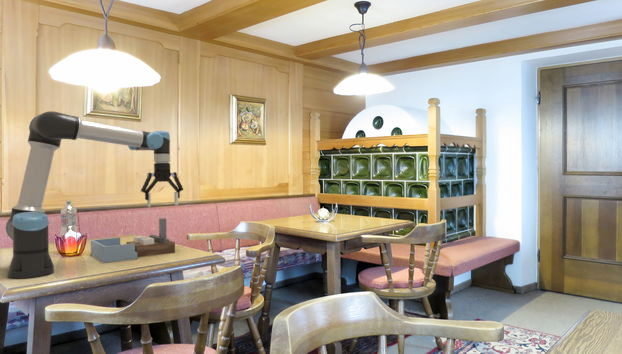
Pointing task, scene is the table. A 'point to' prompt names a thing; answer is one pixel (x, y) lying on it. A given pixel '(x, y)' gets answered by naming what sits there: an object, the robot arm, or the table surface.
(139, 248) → the brown wooden block
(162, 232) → the scraper
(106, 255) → the box
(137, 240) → the tile
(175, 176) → the robot arm
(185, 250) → the table surface
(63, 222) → the water bottle
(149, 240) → the tile
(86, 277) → the table surface
